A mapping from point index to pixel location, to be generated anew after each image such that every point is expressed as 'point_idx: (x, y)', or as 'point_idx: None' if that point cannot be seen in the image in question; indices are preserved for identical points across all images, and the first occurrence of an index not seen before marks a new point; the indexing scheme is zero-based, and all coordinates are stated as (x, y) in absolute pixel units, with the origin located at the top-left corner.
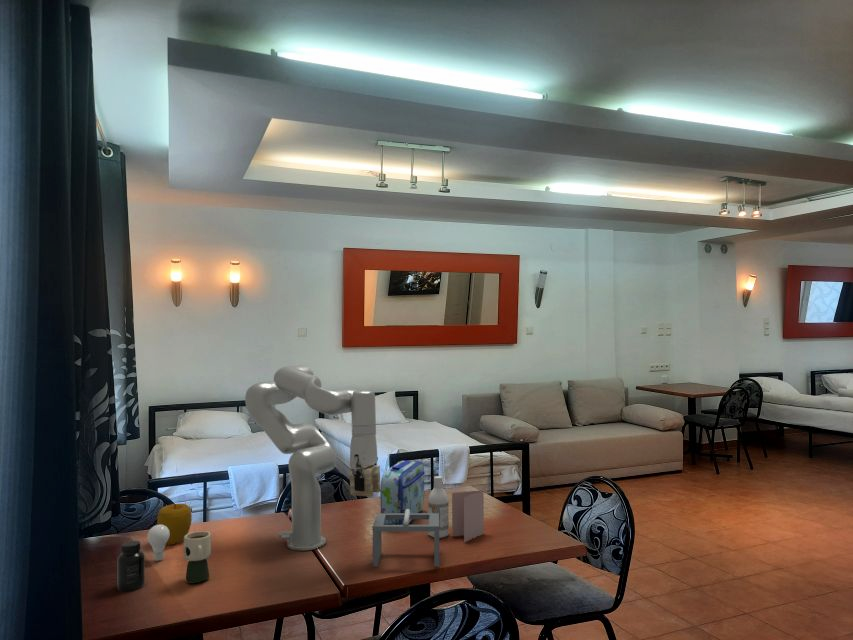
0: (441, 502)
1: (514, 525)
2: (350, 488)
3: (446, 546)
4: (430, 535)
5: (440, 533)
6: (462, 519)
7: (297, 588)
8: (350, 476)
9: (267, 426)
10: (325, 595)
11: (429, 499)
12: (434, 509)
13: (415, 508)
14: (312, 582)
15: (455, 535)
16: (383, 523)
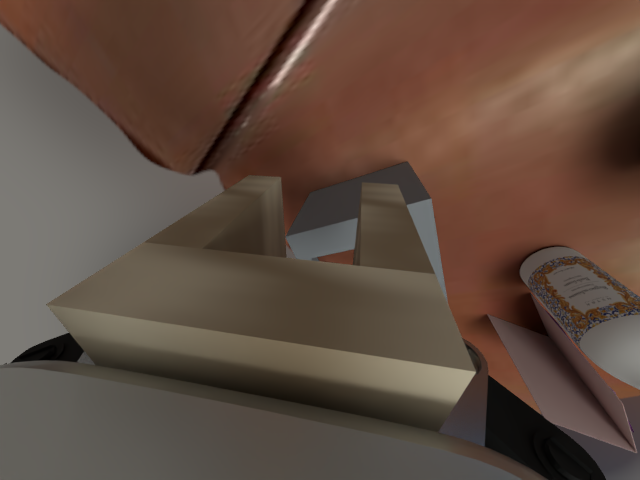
0: (585, 353)
1: (604, 375)
2: (228, 191)
3: (459, 291)
4: (533, 254)
5: (524, 281)
6: (562, 339)
7: (140, 84)
8: (158, 241)
9: None
10: (161, 163)
11: (625, 328)
12: (571, 318)
13: None
14: (180, 101)
15: (533, 298)
16: (327, 254)
